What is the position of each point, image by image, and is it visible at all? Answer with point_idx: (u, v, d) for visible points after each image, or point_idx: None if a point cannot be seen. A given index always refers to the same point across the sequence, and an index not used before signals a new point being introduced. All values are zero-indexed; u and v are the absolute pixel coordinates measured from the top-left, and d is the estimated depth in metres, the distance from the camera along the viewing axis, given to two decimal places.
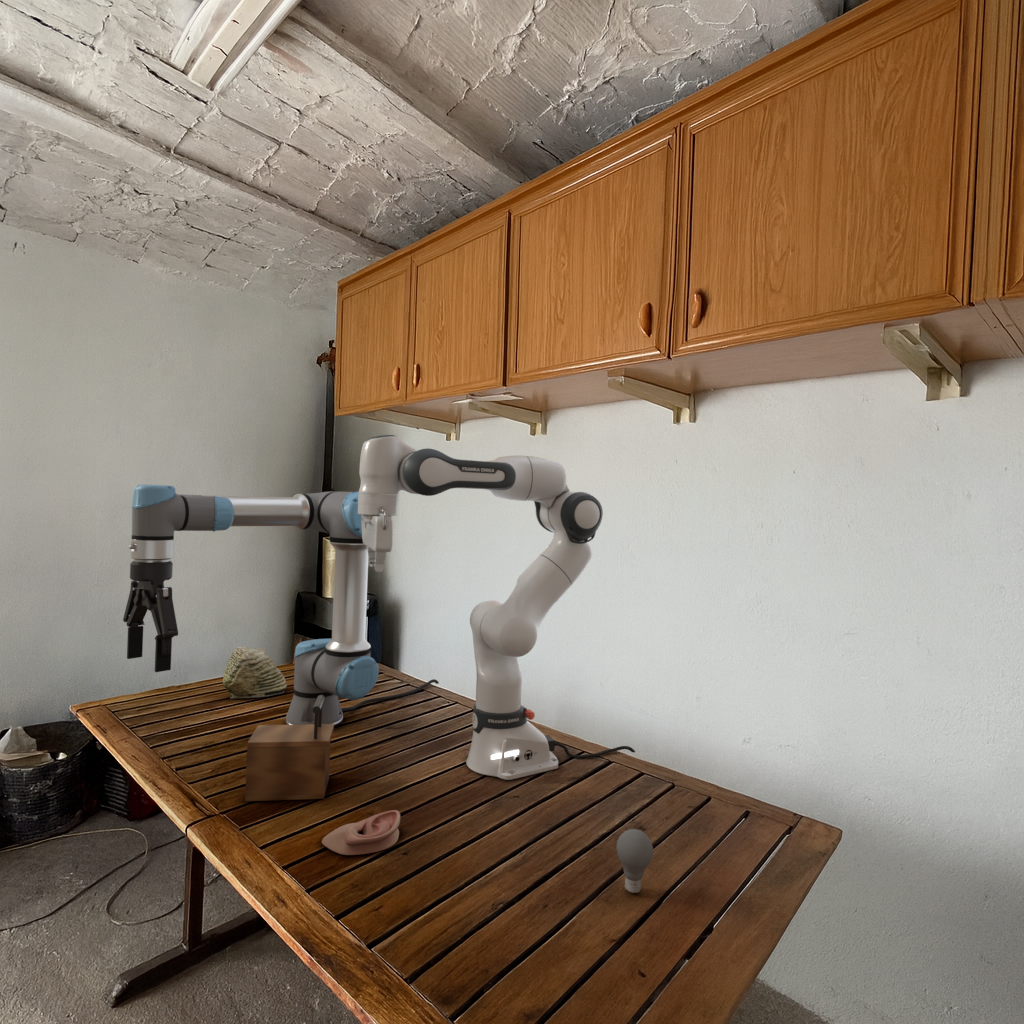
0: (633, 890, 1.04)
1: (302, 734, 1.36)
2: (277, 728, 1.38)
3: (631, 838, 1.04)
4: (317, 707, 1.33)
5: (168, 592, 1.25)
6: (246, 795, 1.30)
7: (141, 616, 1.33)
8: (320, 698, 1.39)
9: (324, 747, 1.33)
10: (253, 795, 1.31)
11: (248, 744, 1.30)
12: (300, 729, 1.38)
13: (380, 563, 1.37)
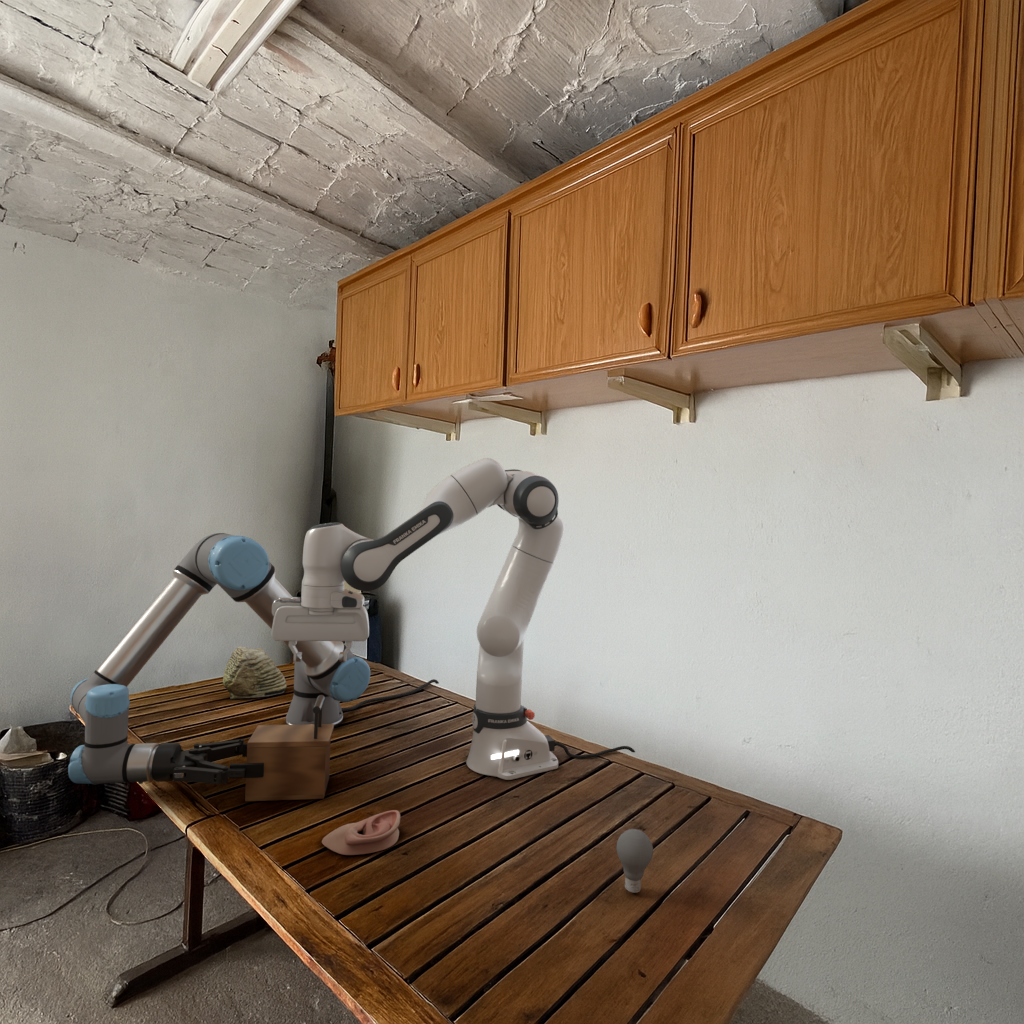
0: (633, 890, 1.04)
1: (302, 734, 1.36)
2: (277, 728, 1.38)
3: (631, 838, 1.04)
4: (317, 707, 1.33)
5: (178, 773, 1.26)
6: (246, 795, 1.30)
7: (228, 749, 1.38)
8: (320, 698, 1.39)
9: (324, 747, 1.33)
10: (253, 795, 1.31)
11: (248, 744, 1.30)
12: (300, 729, 1.38)
13: None
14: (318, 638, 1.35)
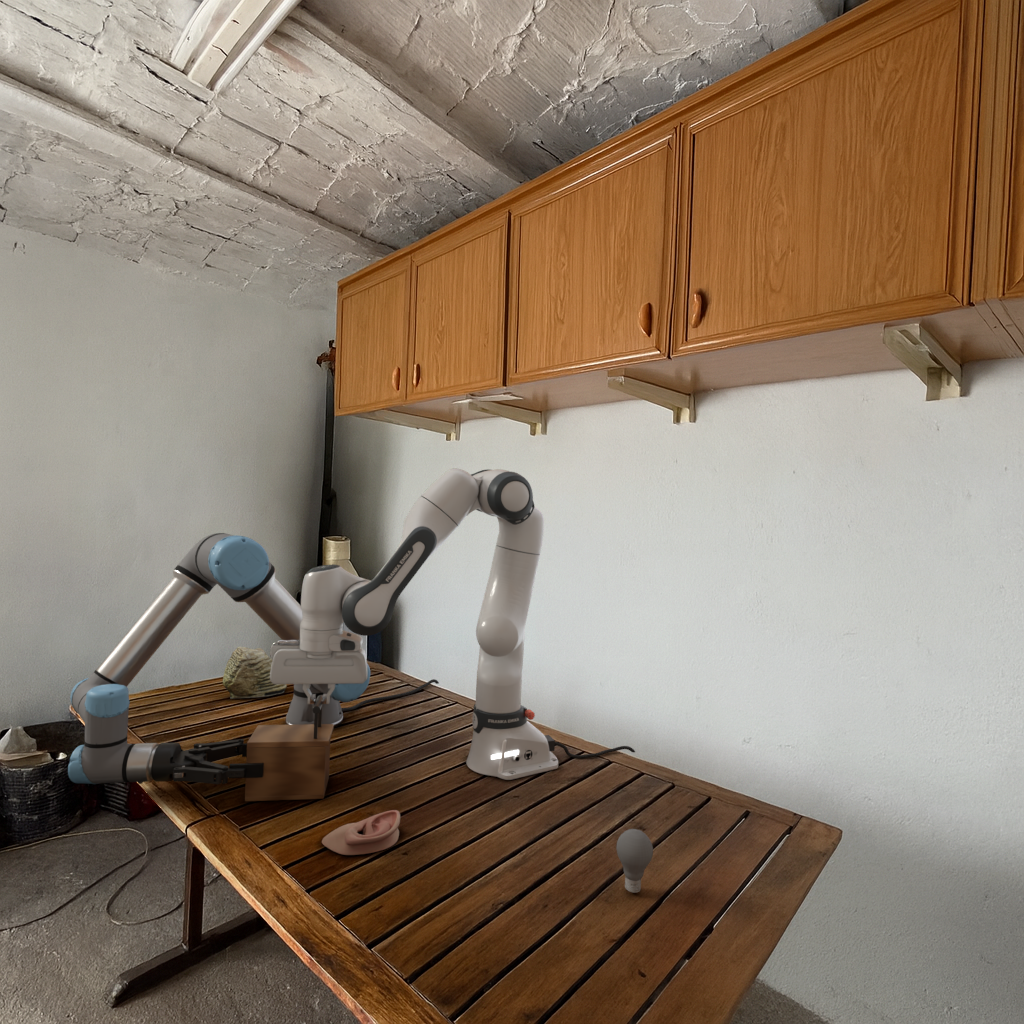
0: (633, 890, 1.04)
1: (302, 734, 1.36)
2: (277, 728, 1.38)
3: (631, 838, 1.04)
4: (316, 707, 1.33)
5: (178, 772, 1.26)
6: (246, 795, 1.30)
7: (228, 749, 1.38)
8: (320, 698, 1.39)
9: (324, 747, 1.33)
10: (253, 795, 1.31)
11: (248, 744, 1.30)
12: (300, 729, 1.38)
13: None
14: (316, 681, 1.35)
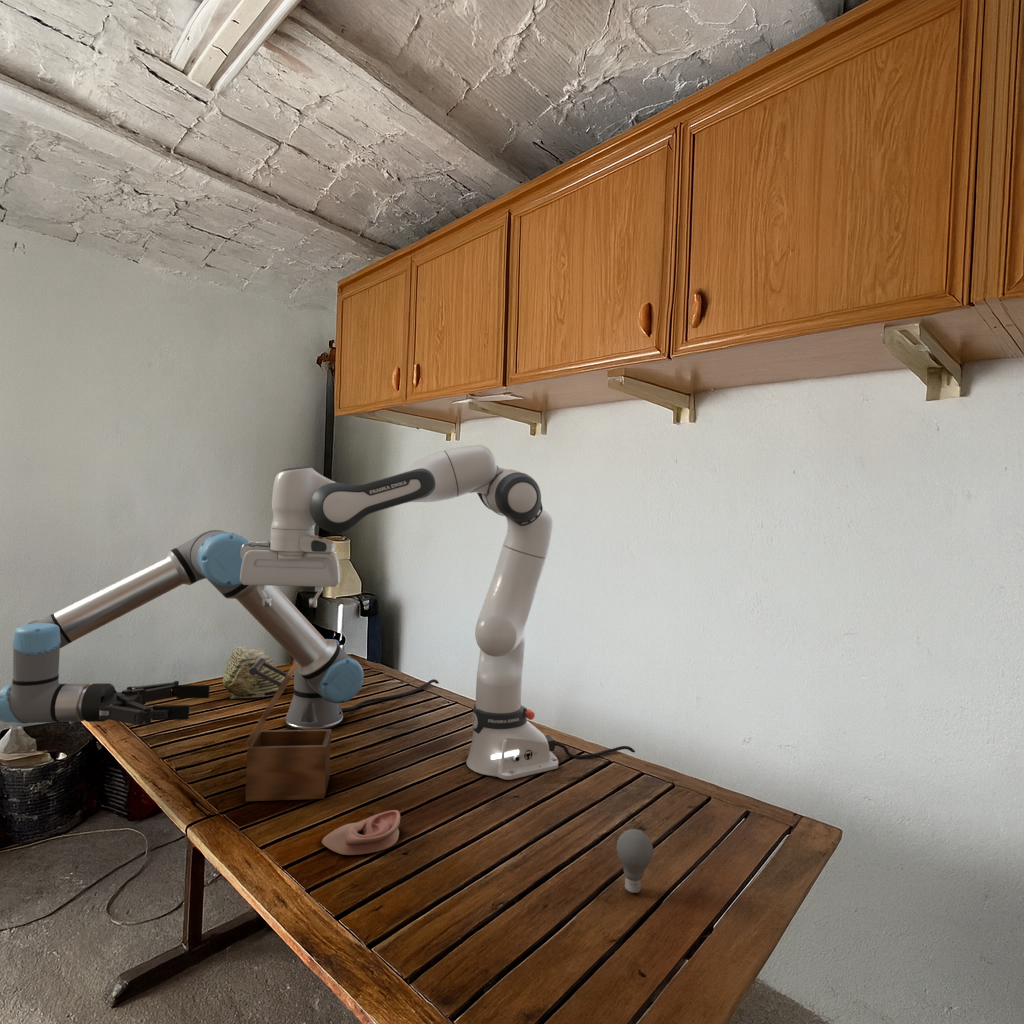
0: (633, 890, 1.04)
1: None
2: None
3: (631, 838, 1.04)
4: (251, 670, 1.31)
5: (103, 710, 1.24)
6: (246, 795, 1.30)
7: (163, 691, 1.37)
8: None
9: (324, 747, 1.33)
10: (253, 795, 1.31)
11: (247, 743, 1.30)
12: None
13: None
14: (287, 583, 1.34)
